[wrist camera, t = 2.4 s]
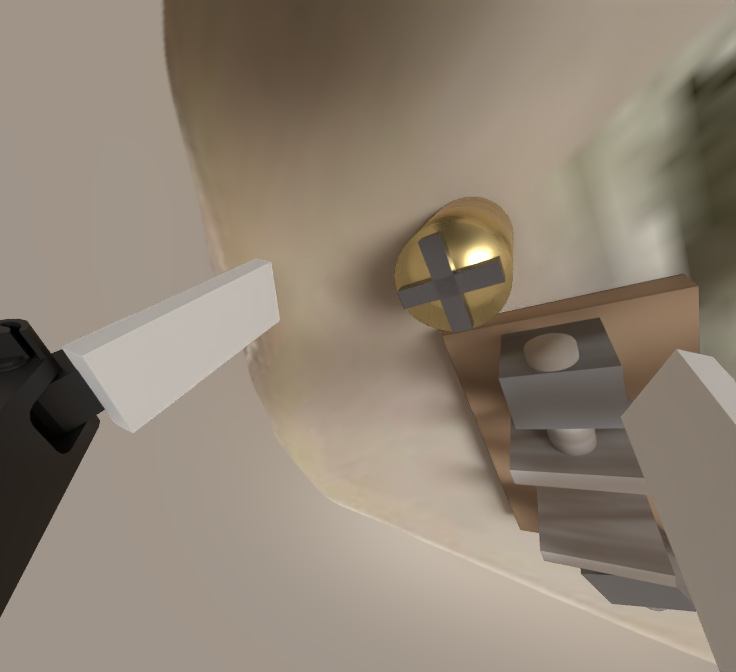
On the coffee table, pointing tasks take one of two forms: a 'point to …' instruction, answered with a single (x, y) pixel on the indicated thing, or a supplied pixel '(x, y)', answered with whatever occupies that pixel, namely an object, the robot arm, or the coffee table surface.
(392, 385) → the coffee table surface
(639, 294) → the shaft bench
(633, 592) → the grey block with shaft
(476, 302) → the gold rounded cylinder
